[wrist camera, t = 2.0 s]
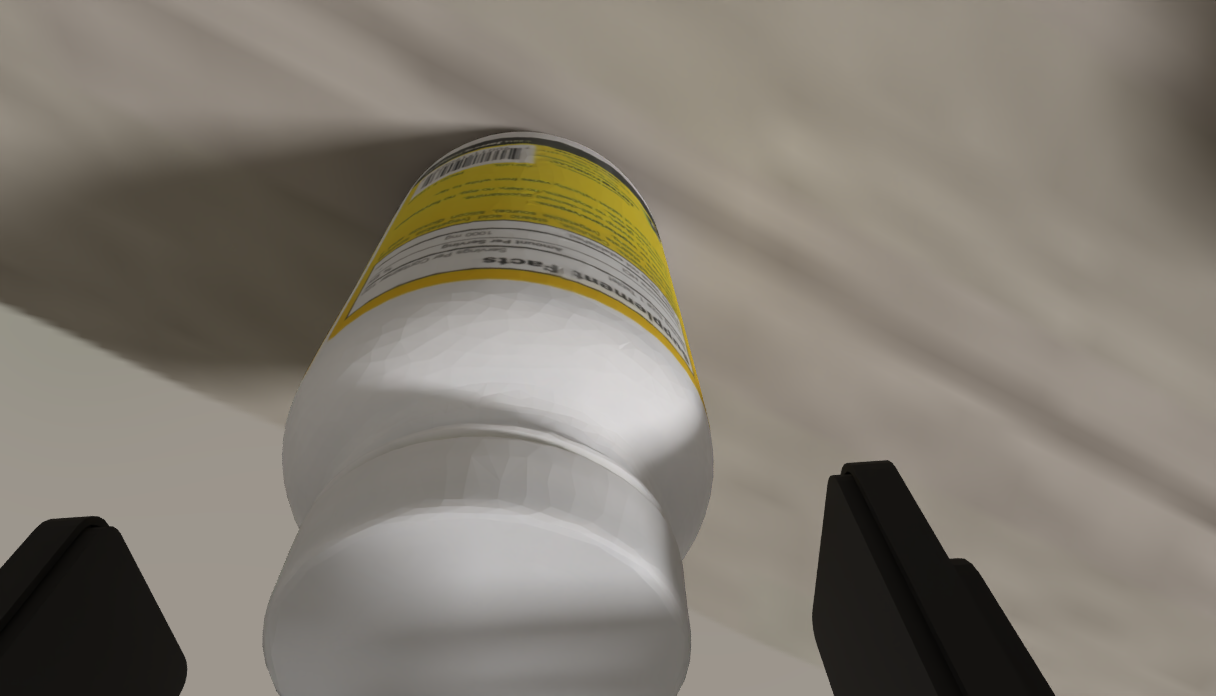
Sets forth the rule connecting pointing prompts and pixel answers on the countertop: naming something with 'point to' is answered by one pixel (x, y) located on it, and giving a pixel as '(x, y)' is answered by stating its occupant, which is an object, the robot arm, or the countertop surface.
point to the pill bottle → (497, 447)
